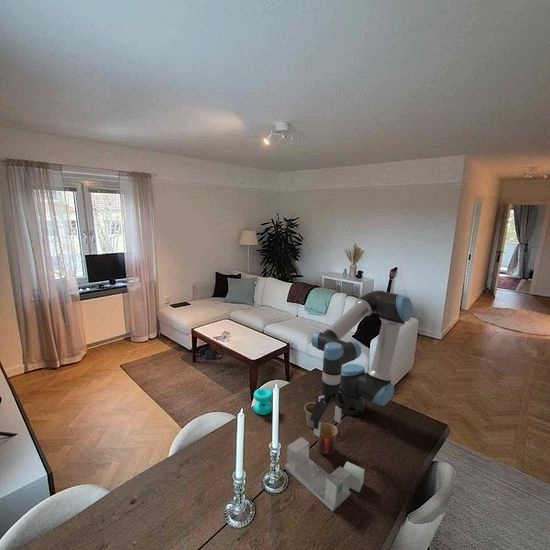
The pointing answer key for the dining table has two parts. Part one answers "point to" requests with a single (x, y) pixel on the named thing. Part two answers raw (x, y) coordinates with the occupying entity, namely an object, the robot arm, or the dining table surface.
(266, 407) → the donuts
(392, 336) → the robot arm
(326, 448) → the mug
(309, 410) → the flower pot
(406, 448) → the dining table surface
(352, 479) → the block
